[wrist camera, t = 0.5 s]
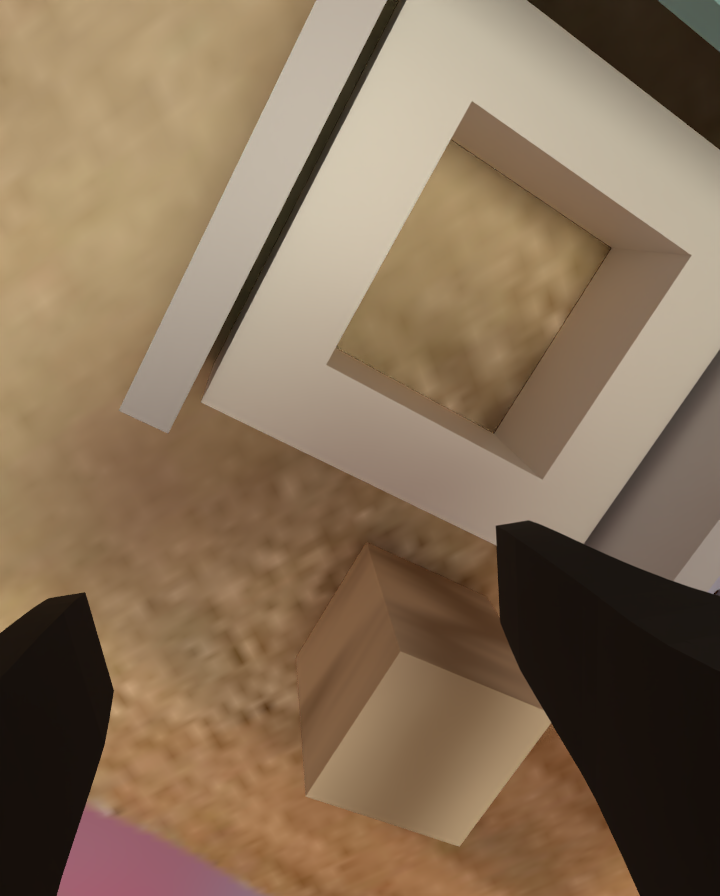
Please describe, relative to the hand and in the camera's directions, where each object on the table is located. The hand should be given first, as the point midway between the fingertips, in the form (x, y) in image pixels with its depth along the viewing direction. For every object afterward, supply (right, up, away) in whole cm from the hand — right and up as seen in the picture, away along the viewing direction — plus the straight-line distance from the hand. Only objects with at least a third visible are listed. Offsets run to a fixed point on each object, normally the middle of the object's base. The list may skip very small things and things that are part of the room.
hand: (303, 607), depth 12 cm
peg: (+2, -4, +12) cm, 13 cm away
